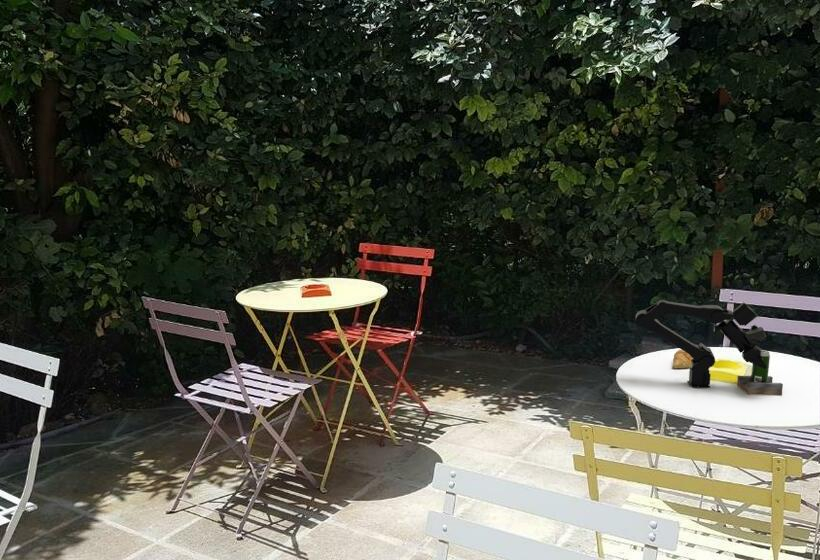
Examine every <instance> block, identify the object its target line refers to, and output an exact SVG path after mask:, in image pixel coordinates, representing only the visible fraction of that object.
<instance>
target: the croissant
mask: <svg viewBox="0 0 820 560" xmlns="http://www.w3.org/2000/svg"><path fill="white" fill-rule="evenodd" d="M692 359H693V358H692V357H691V356H690V355H689V354H688V353H687V352H685V351H683V350H682V349H679V350H677V351H676V352H675V353H674V355H673V359H672V368H674V369H690V368H692V364H691V360H692Z"/></svg>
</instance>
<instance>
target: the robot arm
mask: <svg viewBox="0 0 820 560" xmlns="http://www.w3.org/2000/svg"><path fill="white" fill-rule="evenodd" d="M664 313H669V314H676V315H681V316H687V317H695V318H699V319H702V320H704V321H707V322H709V323H712V324H713V332H714V334H717V333H718V332H721V333H722V334H723V336H725V337H726V338H727V340H728V341H729V342H730V343H731V345H733V346H734V347H735V348H736V349H737V351H738V352H739V353H740V354H741V353H742V354H741V357H742V359H743V360H744V361H745V363H750V364H755V365H757V366H759V367H761V368H763V369H766V368H767V366H766V364H765V363H764V361H763V360H762V358H761V357H760V353H761V350H762V349H760V348H759V347H758V344H757V342H756V341H758V340H759V341H760V340H762V339H763V340H764V339H766V338H767V335H766V332H765V330H764V328H763V326H759V327H758V325H756V324H754V325H753V324H752V325H751V326H750V329H749V330H748V331H745V330H744V329H741V327H739V326H744V327H745V326H747V325H748V324H750V323H751V322H752V321H753V320H755V319H756V318H758V315H757V313H756V312H755V311H754V310H753V309H752V308H751V307H749V306H748V305H747V304H746V303H745V302H744V301H743V302H742V303H740V305H739V306H738V307H736V308H735V309H734V310H733V311H732V310H731V309H725V308H722V306H720V305H717V304H705V305H695V304H688V303H682V302H674V301H668V300H664V299H661V300H659V301H658V302H656V303H654V304H653V305H651V306H649V307H648V308H646V309H642V310H639V311H637V312H636V314H635V324H636V325H637V327H639V328H640V329H643V330H645V331H647V332H651V333H654V334H656V335H658V336H660V337H662V339H665V340H666V341H668V342H669V343H671V344H672V345H674V346H676V347H677V348H678V349H679V350H683V351H685V352H687V353H688V354H689V355H690V356H691V357H692V358H693V359H692V360H691V364H692V368H689V372H688V373H689V374H688V380H687V384H688V385H689V386H690V387H692V388H704V389H705V388H711V386H710V384H711V373H710V368H711V367H713V366H714V365H715V363H716V357H715V355H714V353H713V351H712V349H711V347H708V346H706V345H705V344H703V343H702V342H700V343H699V345H698V344H695V343H694V342H691V341H689V340H688V339H686V338H684V337H683V336H682V335H679V334H678V333H677V332H675V331H674V330H672V329H671V328H669V327H667V326H665V325H664V324H662V323H661V322H660V321H659V320H658V317H660V316H661V315H663V314H664Z"/></svg>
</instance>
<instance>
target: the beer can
mask: <svg viewBox="0 0 820 560" xmlns="http://www.w3.org/2000/svg"><path fill="white" fill-rule="evenodd" d="M760 350H761V353H760V357H761V358H762V360H763V361H764V363H765V364H766V366H767V368H766V369H763V368H761V367H759V366H757V365H755V364H753V363H751V364H752V365H751V375H750V376H751V382H758V383H767V381H768V376H769V370H770V369H769V367H770V361H771V356H770V351H767V350H763V349H760Z"/></svg>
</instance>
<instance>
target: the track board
mask: <svg viewBox="0 0 820 560" xmlns="http://www.w3.org/2000/svg"><path fill="white" fill-rule="evenodd" d="M783 385H784V384H783V383H781V382H773V376H771V375H768V381H767V383H758V382H751V375H737V380H736V387H737V388H739V389H740V390H742V391H743V392H744V393H745V394H746V395H751V396H753V395H756V396H760V395H761V396H782V395H783V388H784V387H783Z"/></svg>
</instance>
